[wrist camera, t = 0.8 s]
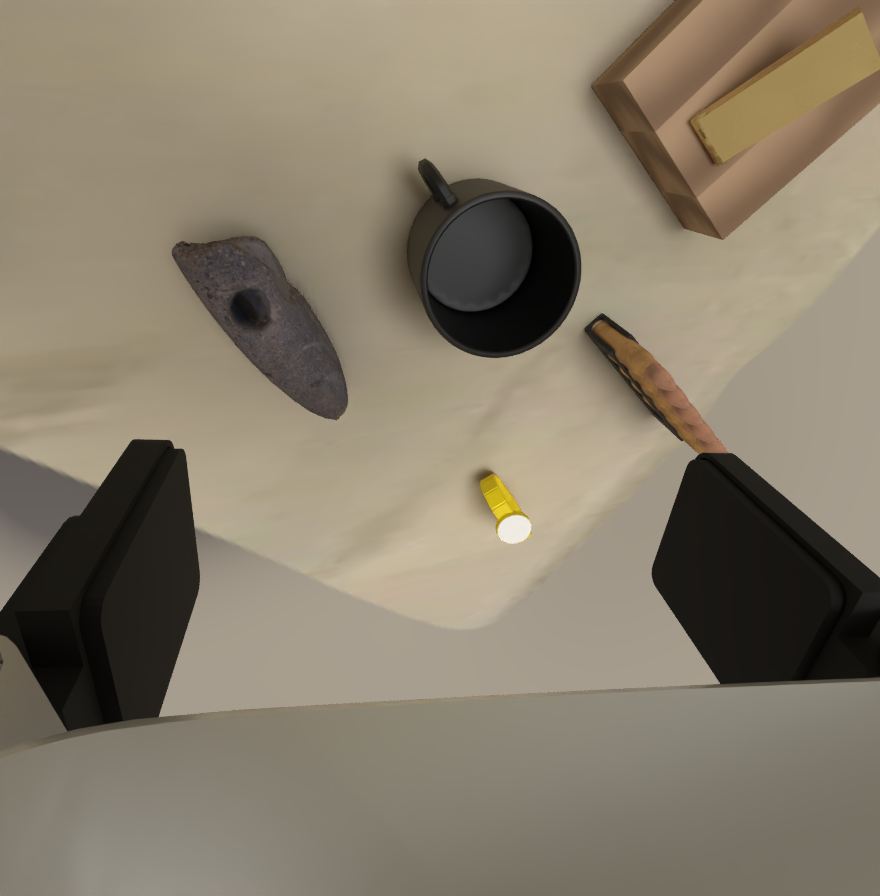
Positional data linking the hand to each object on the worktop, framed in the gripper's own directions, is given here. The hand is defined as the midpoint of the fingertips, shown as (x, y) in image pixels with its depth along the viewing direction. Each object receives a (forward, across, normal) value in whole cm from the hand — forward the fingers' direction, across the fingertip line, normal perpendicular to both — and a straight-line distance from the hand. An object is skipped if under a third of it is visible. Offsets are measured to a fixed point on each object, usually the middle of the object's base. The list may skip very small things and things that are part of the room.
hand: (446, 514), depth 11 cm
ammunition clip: (+33, -21, +9) cm, 40 cm away
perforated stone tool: (+34, +6, +6) cm, 35 cm away
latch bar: (+26, -21, -10) cm, 35 cm away
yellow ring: (+33, -12, +21) cm, 41 cm away
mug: (+33, -6, 0) cm, 34 cm away
